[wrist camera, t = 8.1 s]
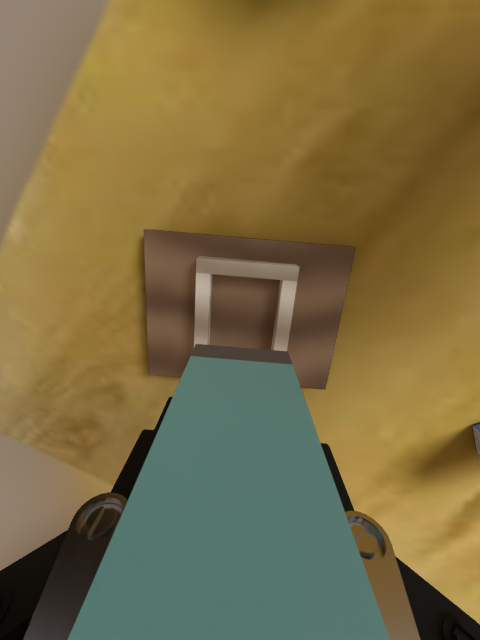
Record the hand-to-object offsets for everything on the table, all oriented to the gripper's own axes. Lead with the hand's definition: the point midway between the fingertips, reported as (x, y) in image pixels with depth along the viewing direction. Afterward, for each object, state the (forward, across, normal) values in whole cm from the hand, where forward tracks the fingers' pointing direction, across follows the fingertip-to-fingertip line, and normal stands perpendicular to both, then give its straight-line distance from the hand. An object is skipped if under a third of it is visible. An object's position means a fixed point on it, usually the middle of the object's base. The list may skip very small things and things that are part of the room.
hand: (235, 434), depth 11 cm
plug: (+2, 0, 0) cm, 2 cm away
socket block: (+16, 0, 0) cm, 16 cm away
